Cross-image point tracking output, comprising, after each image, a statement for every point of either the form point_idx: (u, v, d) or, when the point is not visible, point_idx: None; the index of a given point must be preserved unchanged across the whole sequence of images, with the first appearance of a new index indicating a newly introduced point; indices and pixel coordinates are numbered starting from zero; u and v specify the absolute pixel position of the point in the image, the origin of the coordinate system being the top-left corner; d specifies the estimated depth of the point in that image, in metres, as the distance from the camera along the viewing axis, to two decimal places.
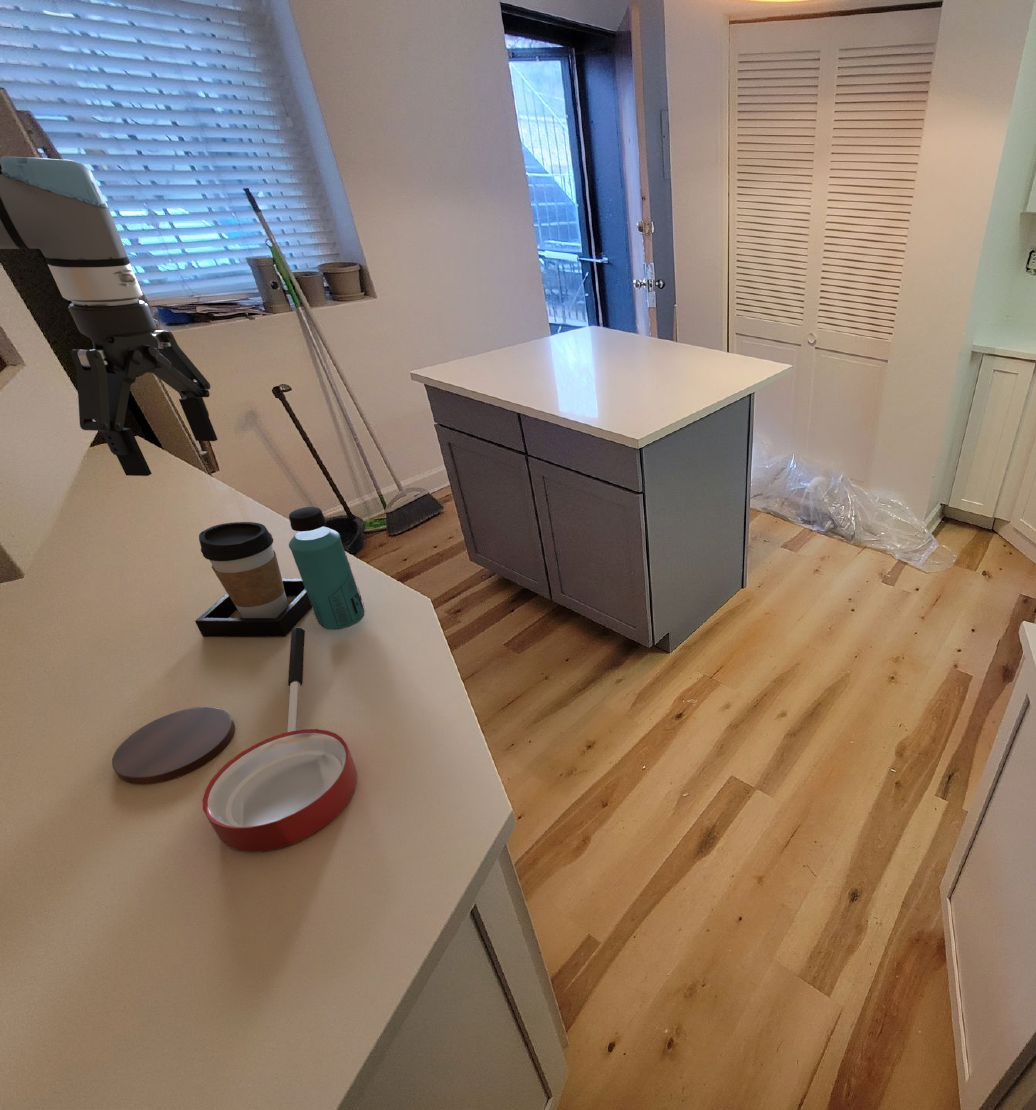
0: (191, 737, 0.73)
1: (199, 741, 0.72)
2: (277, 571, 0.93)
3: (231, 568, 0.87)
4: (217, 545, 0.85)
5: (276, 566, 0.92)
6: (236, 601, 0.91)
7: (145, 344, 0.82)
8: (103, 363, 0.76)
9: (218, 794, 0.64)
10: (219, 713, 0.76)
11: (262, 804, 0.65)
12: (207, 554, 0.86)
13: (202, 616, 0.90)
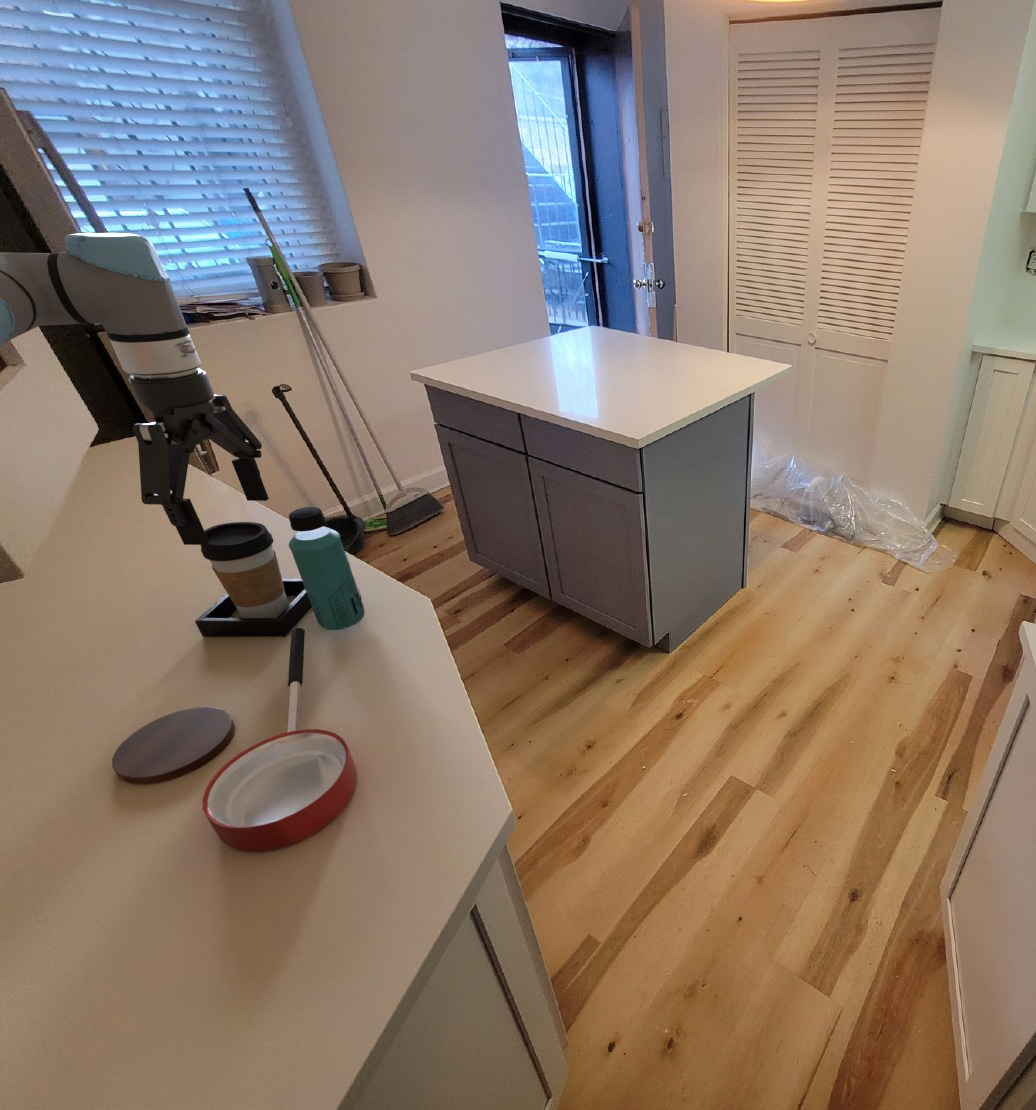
0: (191, 737, 0.73)
1: (199, 741, 0.72)
2: (277, 571, 0.93)
3: (231, 568, 0.87)
4: (217, 545, 0.85)
5: (276, 566, 0.92)
6: (236, 601, 0.91)
7: (202, 412, 0.81)
8: (164, 436, 0.75)
9: (218, 794, 0.64)
10: (219, 713, 0.76)
11: (262, 804, 0.65)
12: (207, 554, 0.86)
13: (202, 616, 0.90)
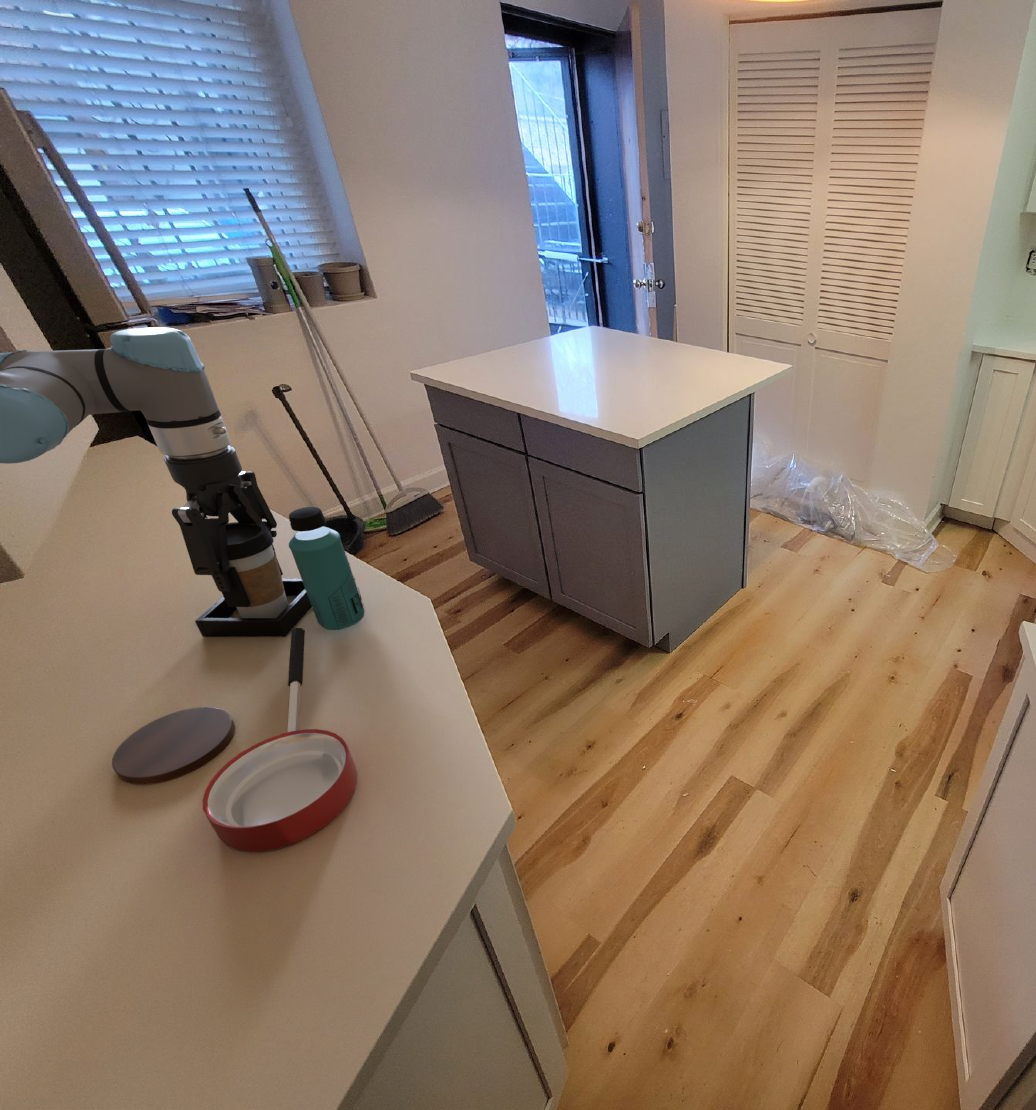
0: (191, 737, 0.73)
1: (199, 741, 0.72)
2: (277, 571, 0.93)
3: None
4: None
5: (276, 566, 0.92)
6: None
7: (230, 484, 0.86)
8: (201, 516, 0.81)
9: (218, 794, 0.64)
10: (219, 713, 0.76)
11: (262, 804, 0.65)
12: None
13: (202, 616, 0.90)
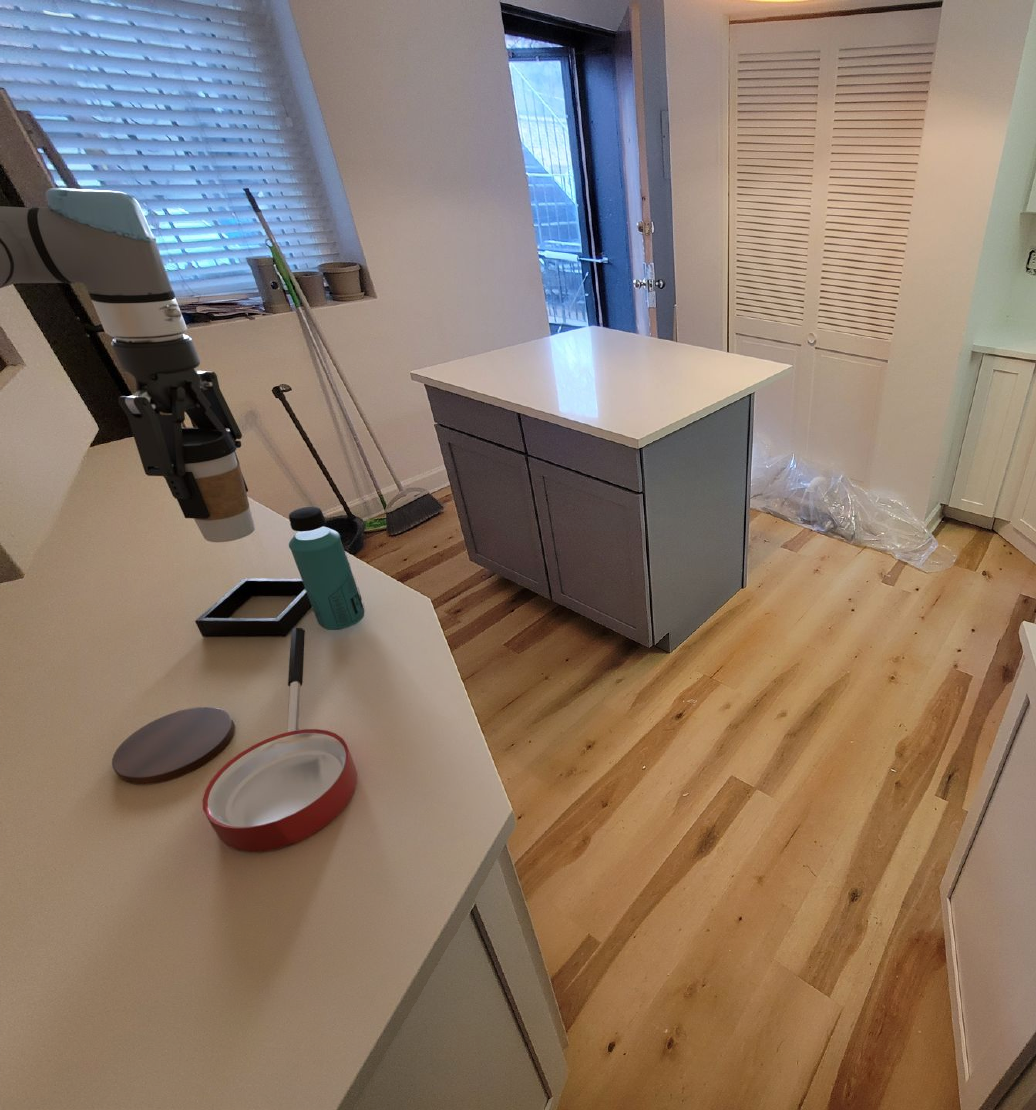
0: (191, 737, 0.73)
1: (199, 741, 0.72)
2: (241, 483, 0.85)
3: None
4: None
5: (240, 477, 0.85)
6: None
7: (187, 380, 0.78)
8: (152, 408, 0.73)
9: (218, 794, 0.64)
10: (219, 713, 0.76)
11: (262, 804, 0.65)
12: None
13: (202, 616, 0.90)
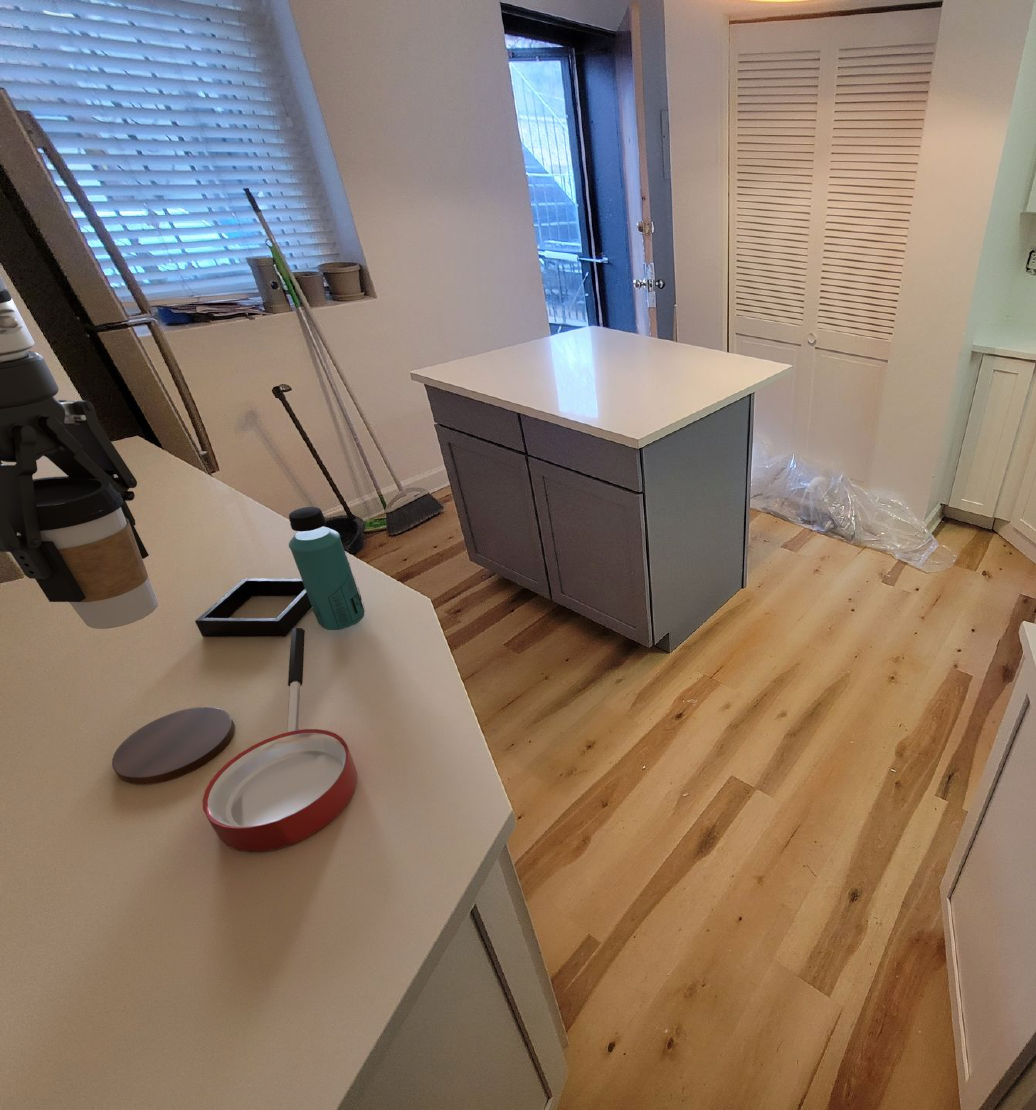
0: (191, 737, 0.73)
1: (199, 741, 0.72)
2: (132, 549, 0.63)
3: None
4: None
5: (129, 542, 0.63)
6: None
7: (43, 414, 0.56)
8: None
9: (218, 794, 0.64)
10: (219, 713, 0.76)
11: (262, 804, 0.65)
12: None
13: (202, 616, 0.90)
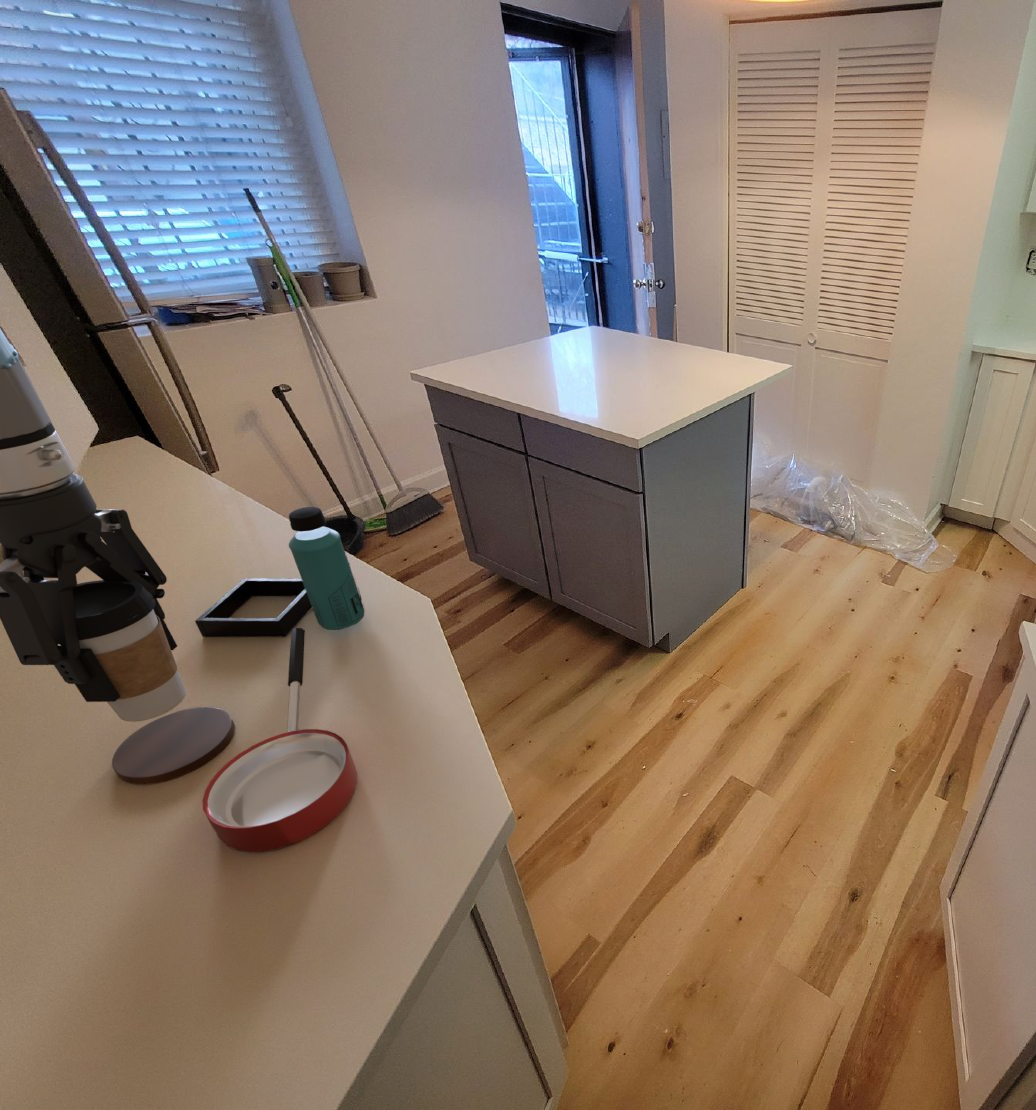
0: (191, 737, 0.73)
1: (199, 741, 0.72)
2: (162, 647, 0.66)
3: None
4: None
5: (160, 640, 0.66)
6: None
7: (82, 530, 0.60)
8: (24, 582, 0.55)
9: (218, 794, 0.64)
10: (219, 713, 0.76)
11: (262, 804, 0.65)
12: None
13: (202, 616, 0.90)
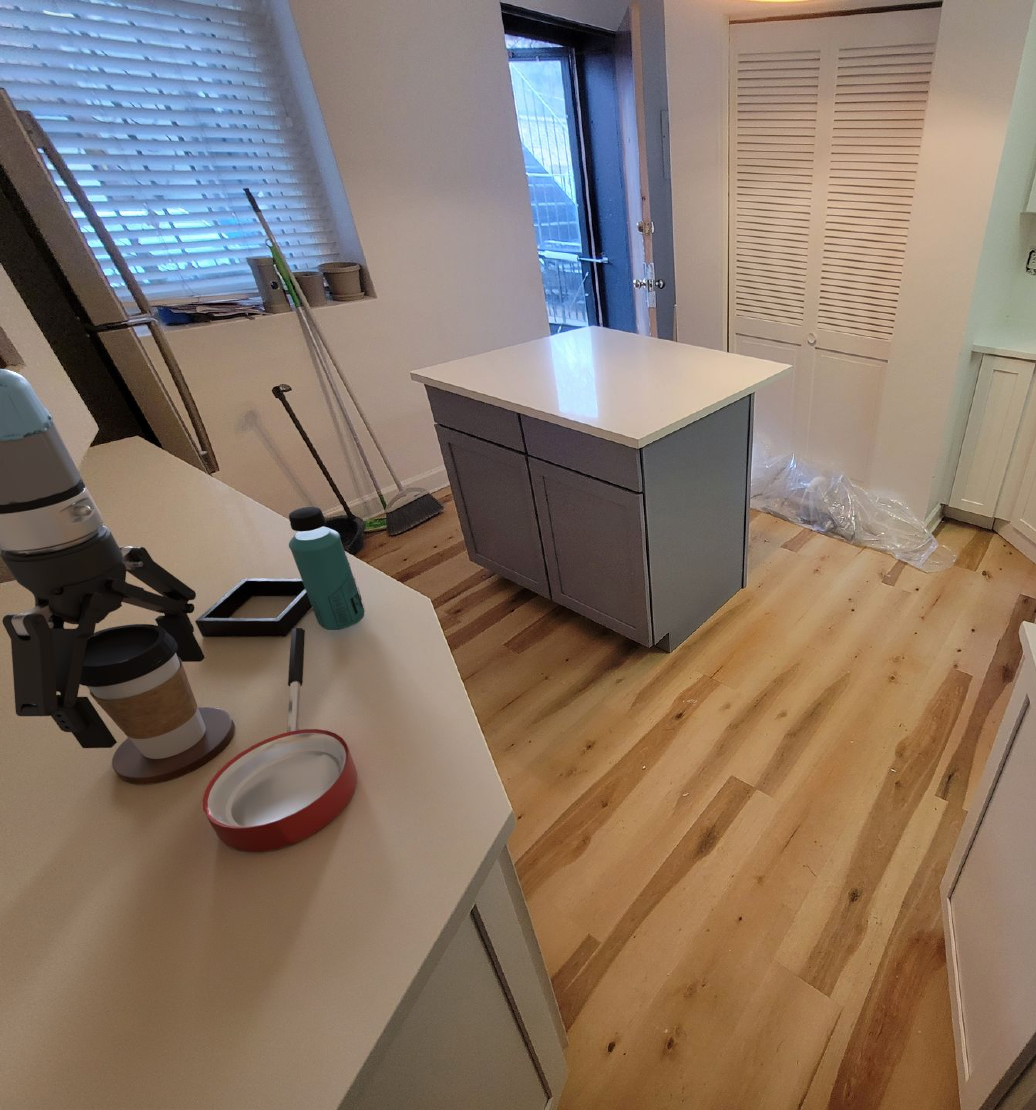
0: None
1: (199, 741, 0.72)
2: (184, 688, 0.69)
3: (113, 694, 0.64)
4: (90, 666, 0.62)
5: (182, 681, 0.69)
6: (127, 732, 0.67)
7: (108, 577, 0.63)
8: (48, 627, 0.57)
9: (218, 794, 0.64)
10: (219, 713, 0.76)
11: (262, 804, 0.65)
12: None
13: (202, 616, 0.90)
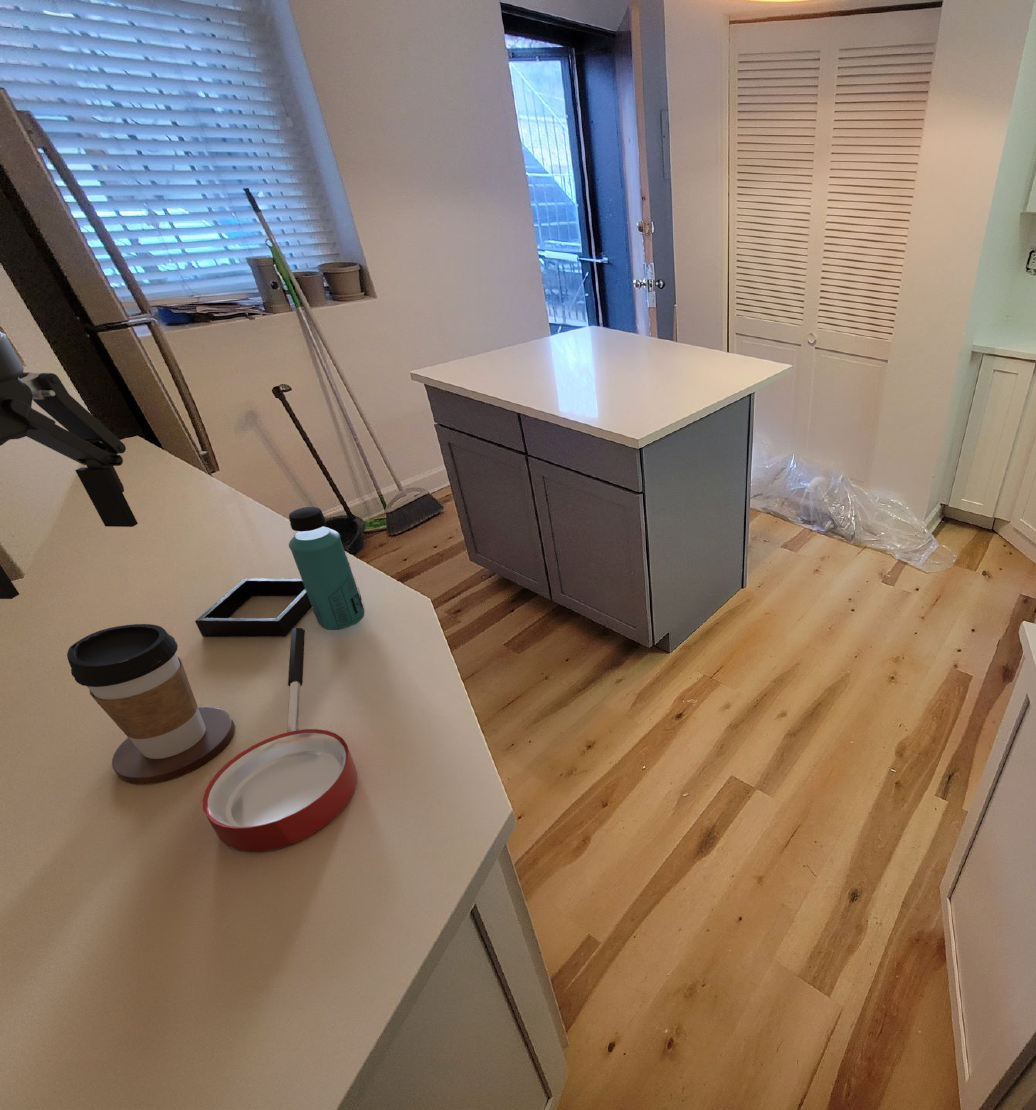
0: None
1: (199, 741, 0.72)
2: (184, 688, 0.69)
3: (113, 694, 0.64)
4: (90, 666, 0.62)
5: (182, 681, 0.69)
6: (127, 732, 0.67)
7: (7, 397, 0.53)
8: None
9: (218, 794, 0.64)
10: (219, 713, 0.76)
11: (262, 804, 0.65)
12: (78, 677, 0.63)
13: (202, 616, 0.90)
